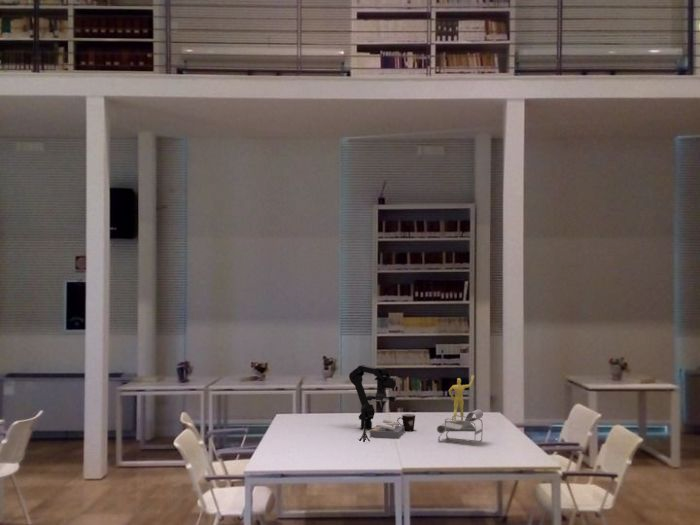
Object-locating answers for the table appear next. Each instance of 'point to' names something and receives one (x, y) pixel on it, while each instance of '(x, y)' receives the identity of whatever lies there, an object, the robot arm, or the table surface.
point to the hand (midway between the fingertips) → (381, 411)
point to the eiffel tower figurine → (364, 434)
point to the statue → (460, 404)
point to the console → (387, 432)
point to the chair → (456, 426)
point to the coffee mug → (408, 421)
